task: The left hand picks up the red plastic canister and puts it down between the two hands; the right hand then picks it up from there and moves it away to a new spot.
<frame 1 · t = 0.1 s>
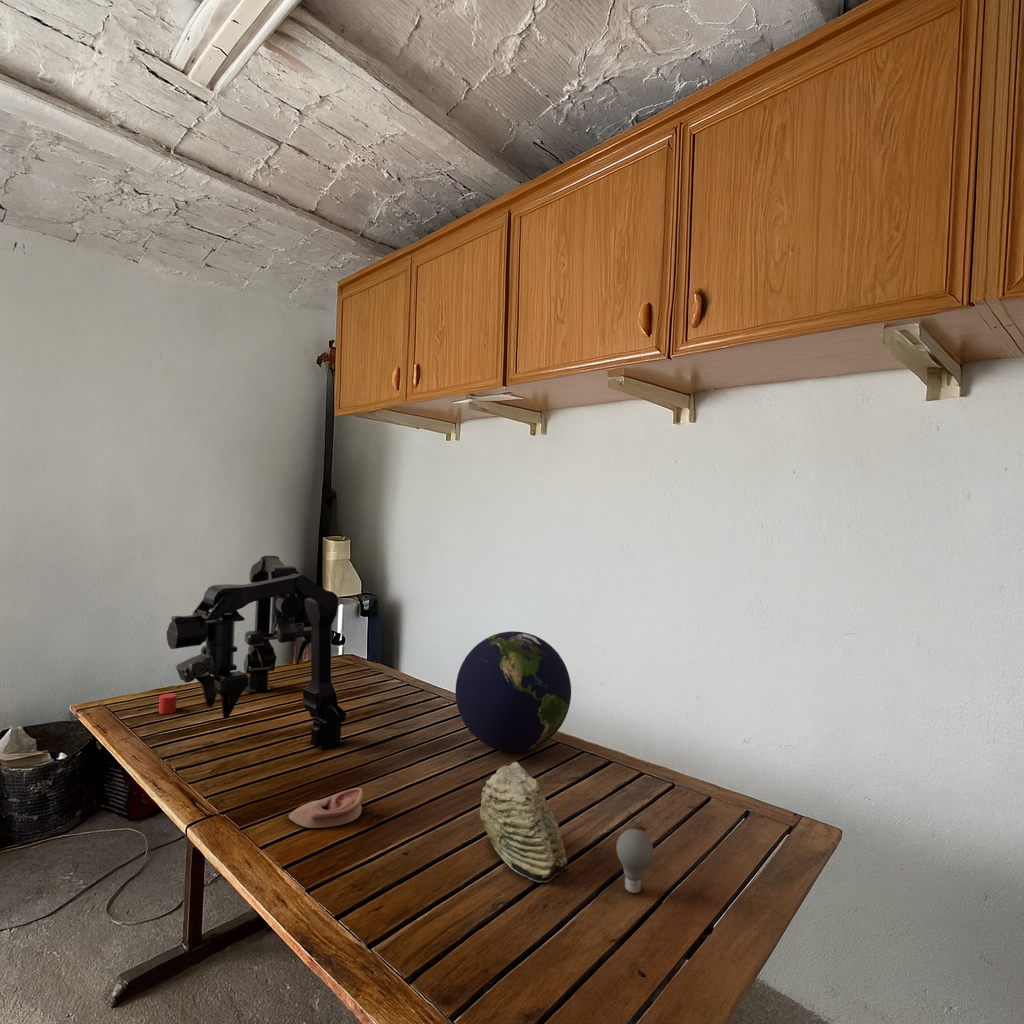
left hand: (280, 665, 179), 15 cm above the table, tool pointing down, fingers open, 9 cm apart
right hand: (217, 711, 141), 14 cm above the table, tool pointing down, fingers open, 9 cm apart
light bulb: (632, 891, 106), on the table
anatomical model: (326, 815, 126), on the table
fossil: (519, 856, 115), on the table
globe: (510, 748, 164), on the table
canister: (167, 711, 180), on the table
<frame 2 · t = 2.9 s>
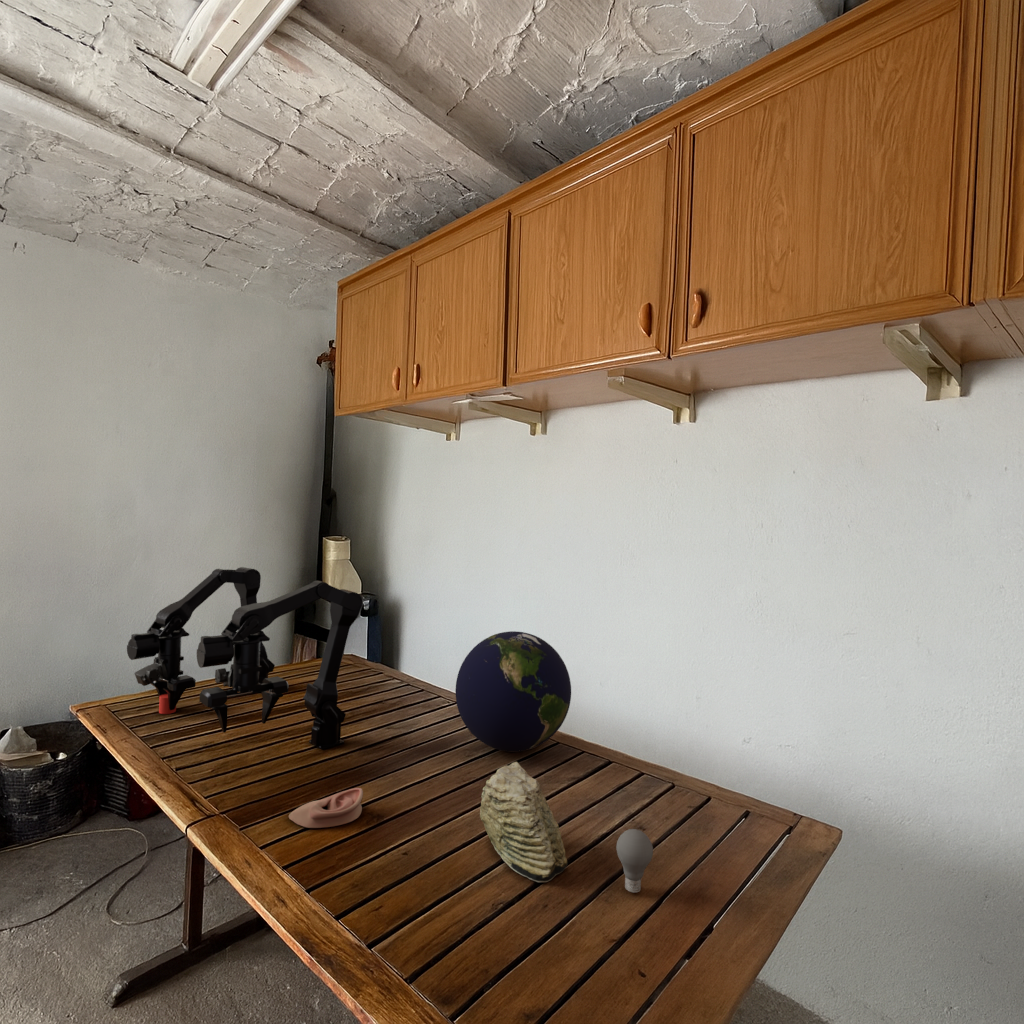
left hand: (167, 707, 180), 1 cm above the table, tool pointing down, fingers closed on canister, 4 cm apart
right hand: (244, 727, 148), 9 cm above the table, tool pointing down, fingers open, 9 cm apart
canister: (167, 711, 180), on the table, touching left hand
everything else where it was.
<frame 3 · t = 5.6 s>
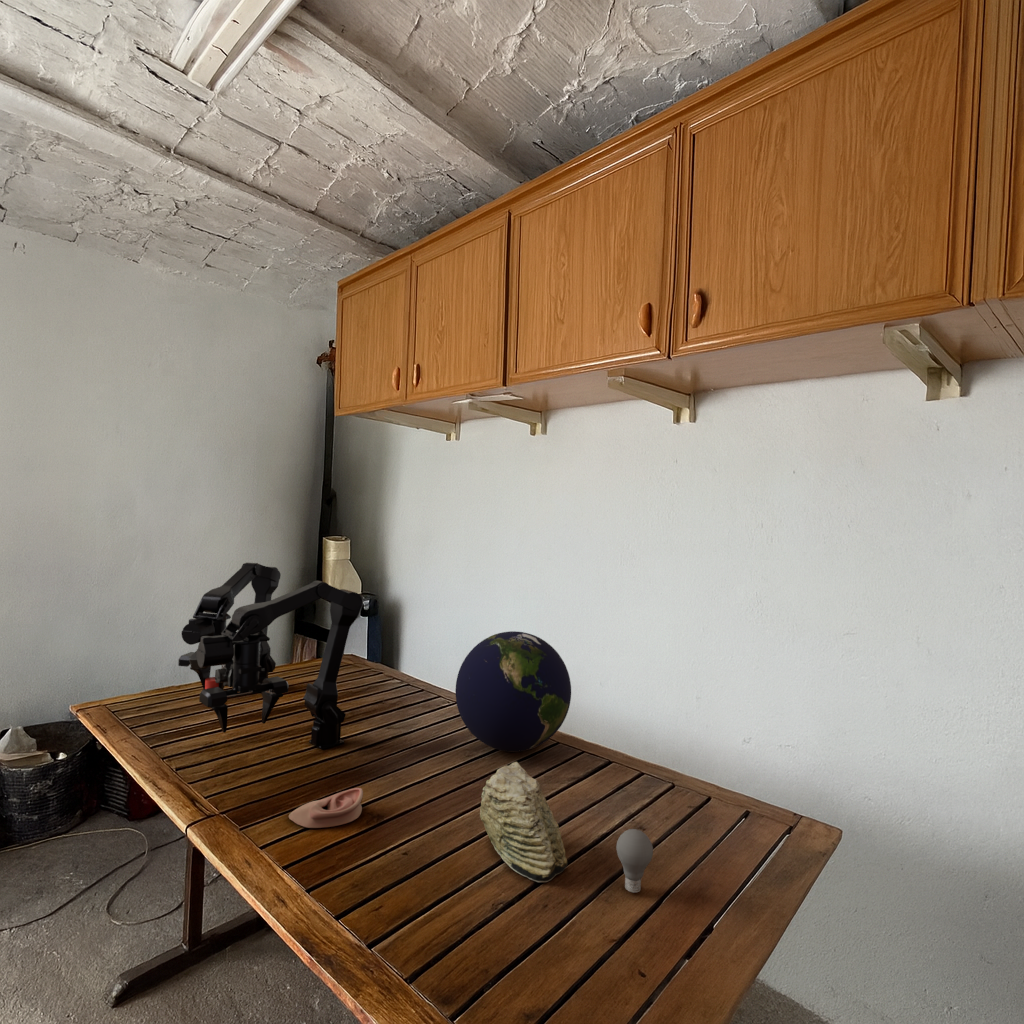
left hand: (213, 691, 181), 6 cm above the table, tool pointing down, fingers closed on canister, 4 cm apart
right hand: (244, 727, 148), 9 cm above the table, tool pointing down, fingers open, 9 cm apart
canister: (212, 694, 181), point 5 cm above the table, touching left hand
everything else where it was.
when the left hand's fingers open (2 cm above the table, at t = 8.5 s): canister stays where it is, on the table.
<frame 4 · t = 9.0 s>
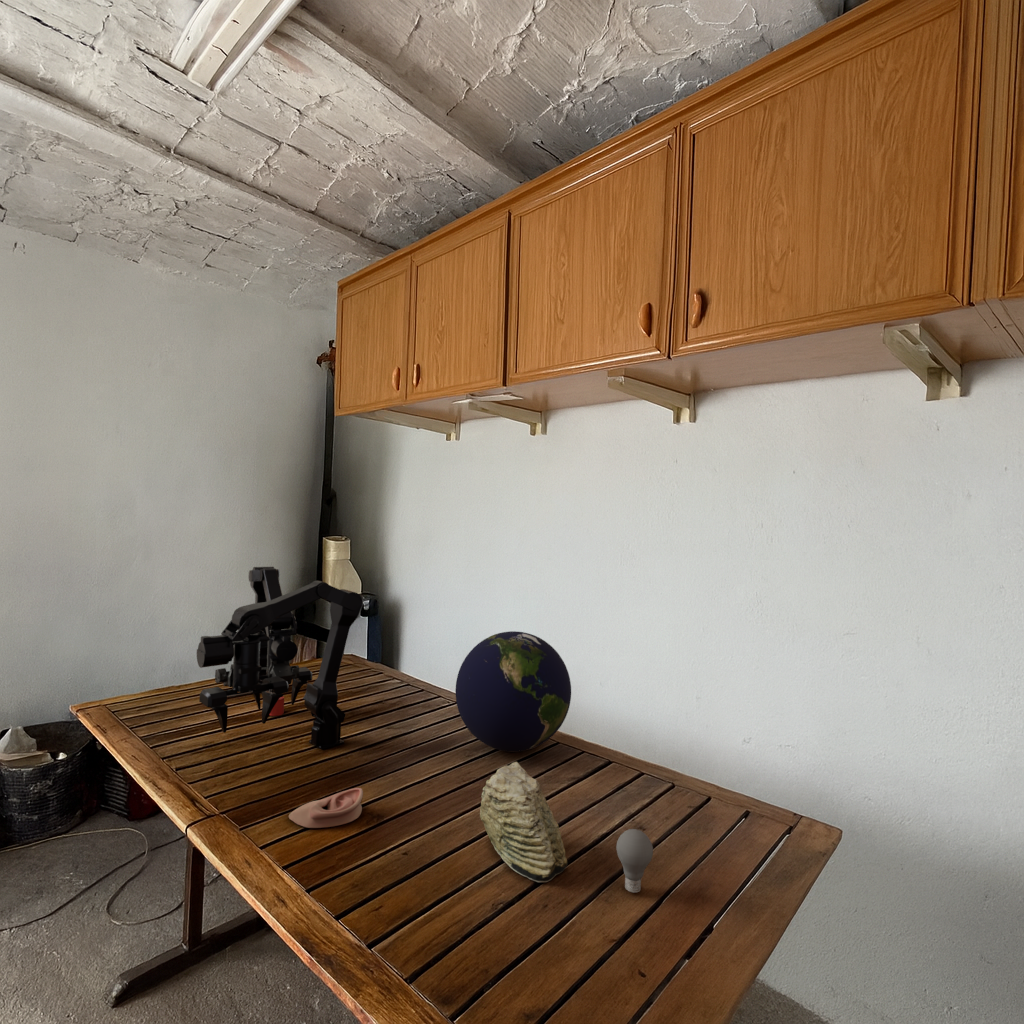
left hand: (276, 706, 183), 2 cm above the table, tool pointing down, fingers open, 9 cm apart
right hand: (244, 727, 148), 9 cm above the table, tool pointing down, fingers open, 9 cm apart
canister: (275, 713, 183), on the table
everything else where it was.
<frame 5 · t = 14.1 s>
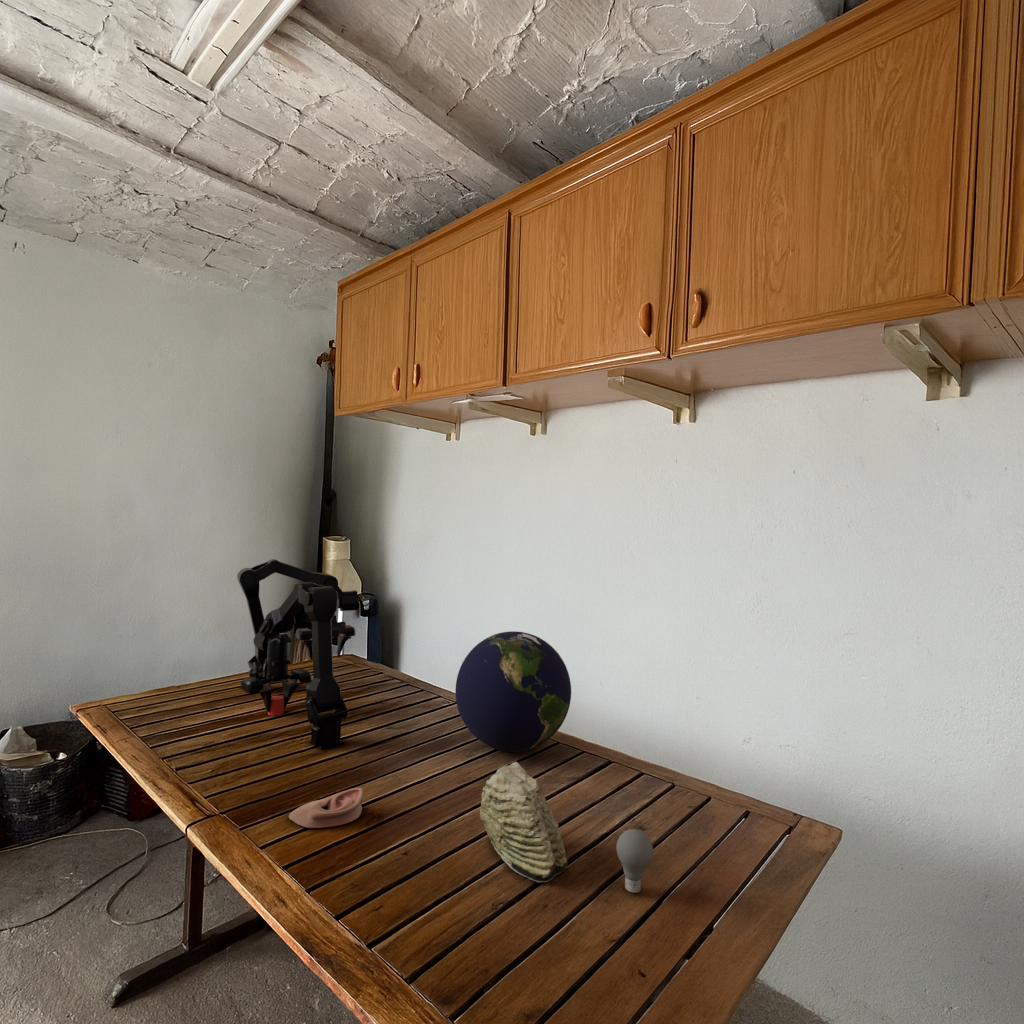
left hand: (325, 657, 214), 8 cm above the table, tool pointing down, fingers open, 9 cm apart
right hand: (275, 709, 183), 1 cm above the table, tool pointing down, fingers closed on canister, 4 cm apart
canister: (275, 713, 183), on the table, touching right hand
everything else where it was.
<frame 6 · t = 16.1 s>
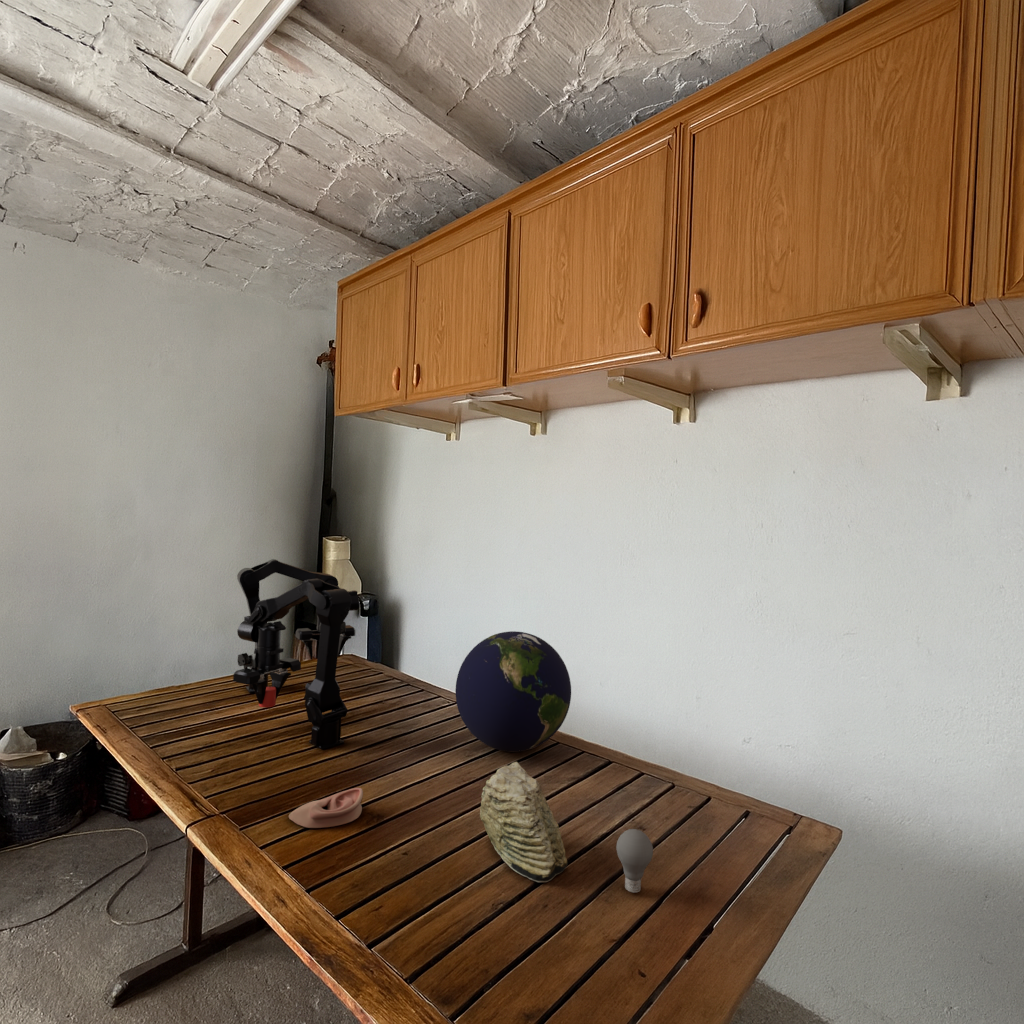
left hand: (325, 657, 214), 8 cm above the table, tool pointing down, fingers open, 9 cm apart
right hand: (267, 701, 175), 6 cm above the table, tool pointing down, fingers closed on canister, 4 cm apart
canister: (267, 705, 175), point 5 cm above the table, touching right hand
everything else where it was.
when the right hand's fingers open (2 cm above the table, at t = 18.5 s): canister stays where it is, on the table.
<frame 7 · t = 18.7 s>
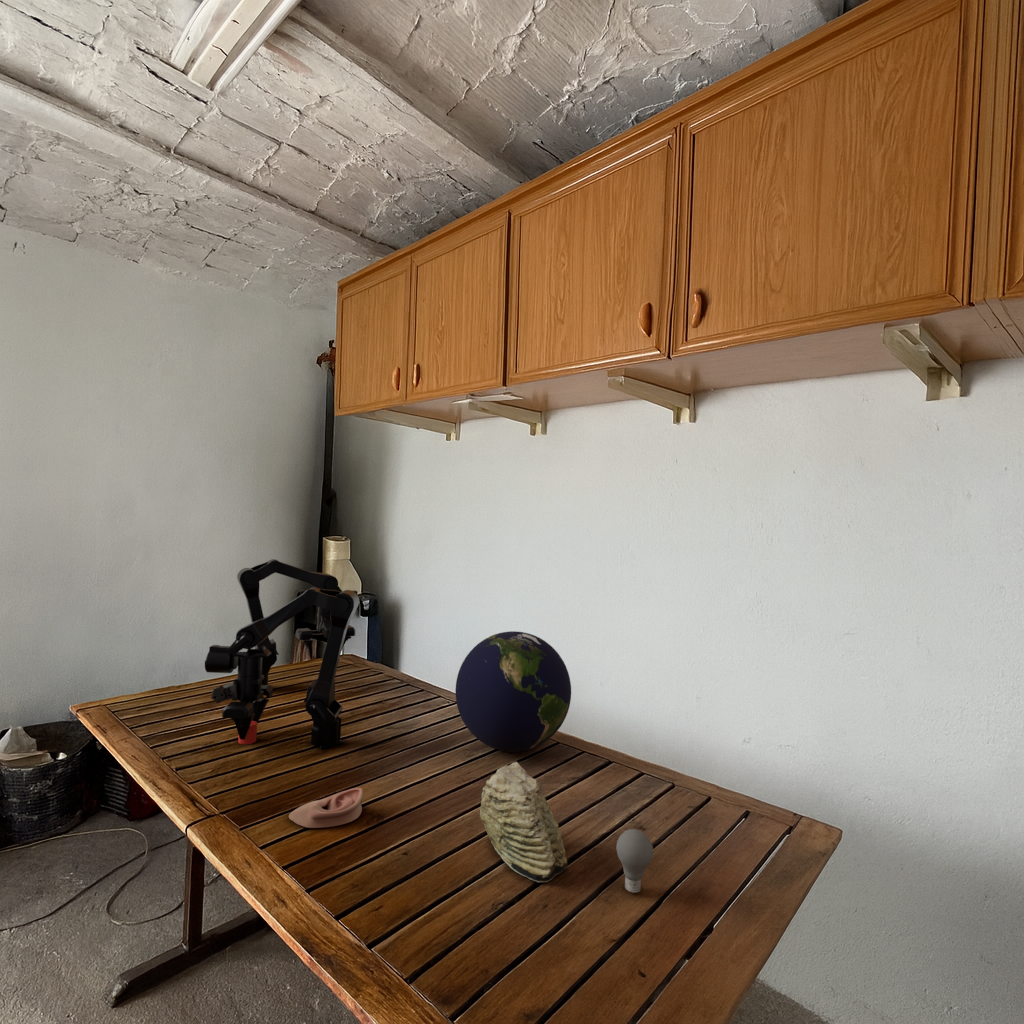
left hand: (325, 657, 214), 8 cm above the table, tool pointing down, fingers open, 9 cm apart
right hand: (247, 734, 162), 2 cm above the table, tool pointing down, fingers open, 7 cm apart
canister: (247, 741, 162), on the table
everything else where it was.
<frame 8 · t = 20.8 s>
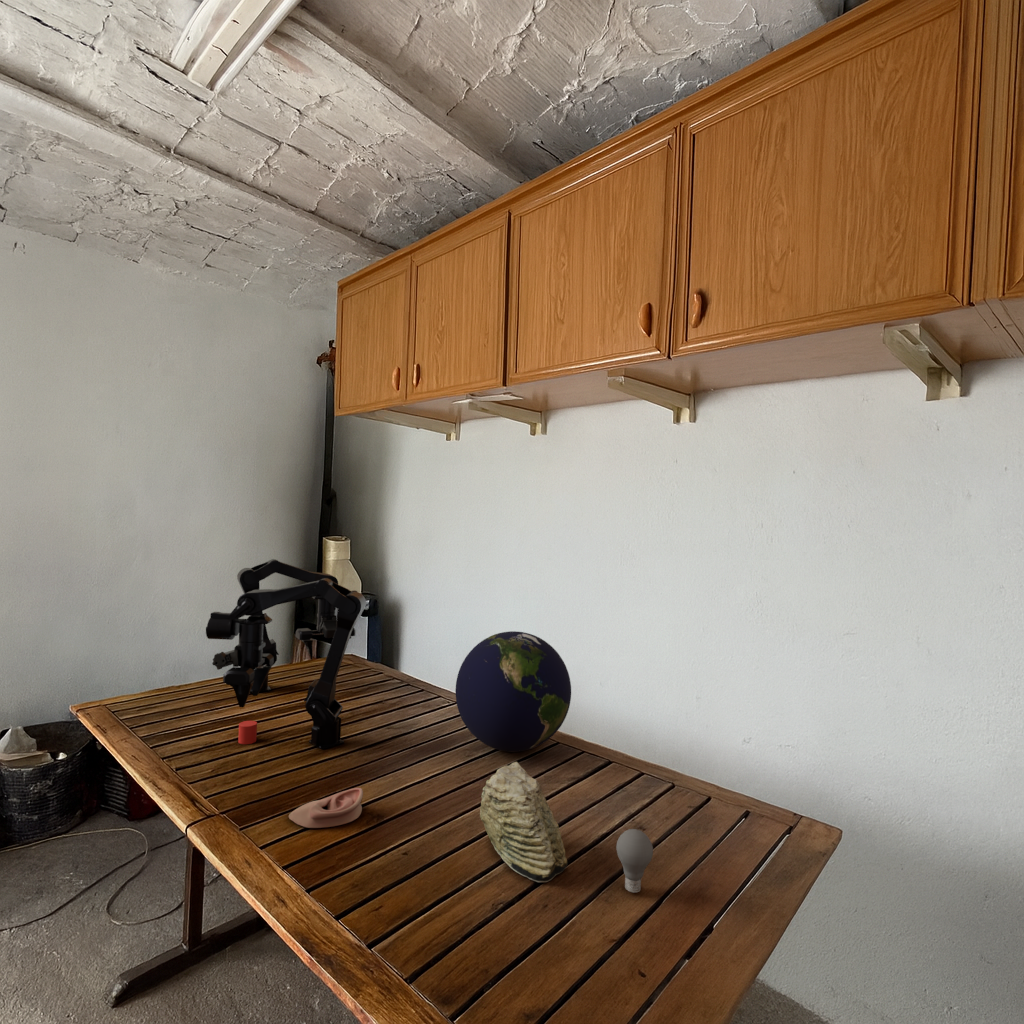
left hand: (325, 657, 214), 8 cm above the table, tool pointing down, fingers open, 9 cm apart
right hand: (248, 701, 161), 10 cm above the table, tool pointing down, fingers open, 9 cm apart
nothing on the table moved.
at the end: canister inside the target area (0.0 cm from its centre), on the table; canister tilted 0°; the two hands never held the canister at the same time; the left hand is holding nothing; the right hand is holding nothing; canister at rest at the end (0.0 cm/s) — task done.
